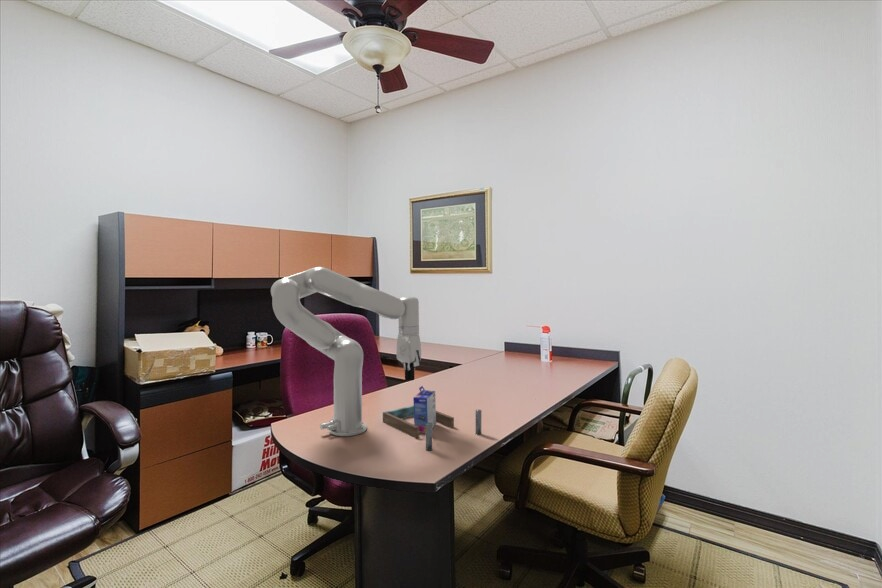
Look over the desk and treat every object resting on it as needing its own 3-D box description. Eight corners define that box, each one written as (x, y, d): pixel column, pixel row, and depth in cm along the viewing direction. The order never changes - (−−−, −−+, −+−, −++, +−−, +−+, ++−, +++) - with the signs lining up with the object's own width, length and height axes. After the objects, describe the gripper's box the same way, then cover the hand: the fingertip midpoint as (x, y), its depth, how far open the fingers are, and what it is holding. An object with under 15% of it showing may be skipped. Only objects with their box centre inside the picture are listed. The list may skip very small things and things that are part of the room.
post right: (478, 435, 140) (478, 411, 140) (474, 433, 141) (474, 410, 141) (482, 434, 141) (482, 410, 141) (478, 432, 143) (478, 409, 143)
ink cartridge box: (422, 422, 153) (421, 383, 152) (436, 424, 151) (436, 384, 151) (412, 432, 143) (412, 390, 143) (428, 433, 142) (428, 391, 141)
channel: (416, 438, 137) (416, 427, 137) (382, 421, 154) (382, 412, 154) (453, 427, 148) (453, 417, 148) (418, 413, 164) (418, 404, 164)
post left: (428, 451, 127) (428, 425, 126) (424, 449, 128) (424, 423, 128) (433, 449, 128) (433, 423, 128) (429, 447, 130) (429, 422, 129)
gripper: (389, 329, 157) (390, 378, 158) (412, 333, 146) (413, 385, 146) (405, 328, 162) (406, 375, 163) (429, 331, 151) (430, 382, 151)
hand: (409, 380), depth 155 cm, fingers closed
